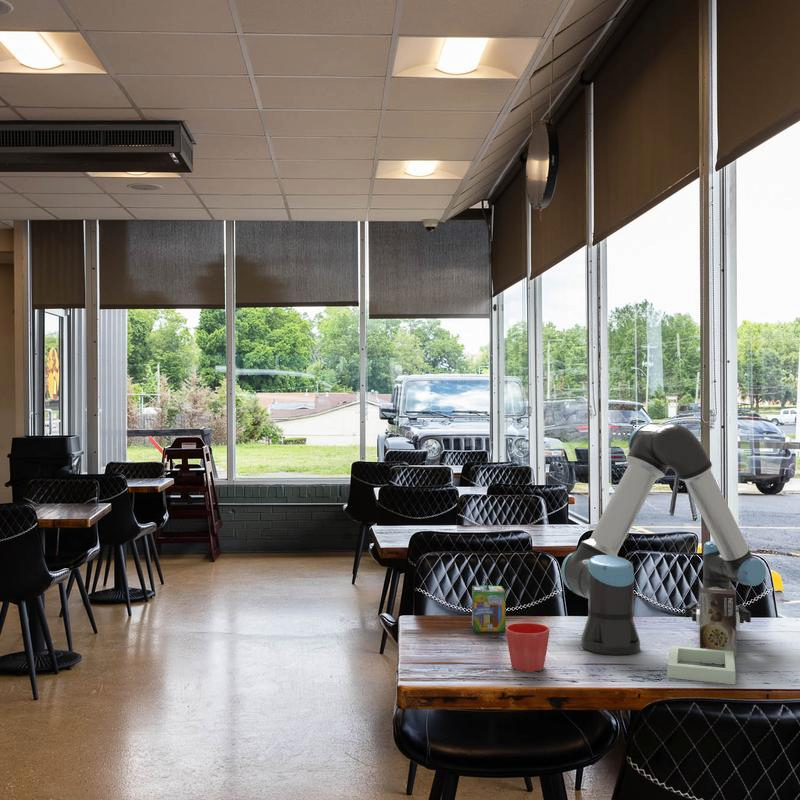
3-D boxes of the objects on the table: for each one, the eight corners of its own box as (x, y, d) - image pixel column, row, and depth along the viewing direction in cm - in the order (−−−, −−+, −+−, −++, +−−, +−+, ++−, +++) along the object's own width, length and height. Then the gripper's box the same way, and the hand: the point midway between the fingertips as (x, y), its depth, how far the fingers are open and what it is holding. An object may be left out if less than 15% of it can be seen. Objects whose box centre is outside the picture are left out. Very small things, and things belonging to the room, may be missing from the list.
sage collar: (667, 677, 211) (667, 664, 211) (670, 657, 228) (670, 645, 228) (735, 684, 207) (735, 671, 207) (733, 663, 224) (733, 651, 224)
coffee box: (735, 650, 235) (736, 589, 235) (736, 657, 229) (736, 593, 229) (699, 647, 238) (699, 586, 238) (698, 653, 232) (699, 591, 232)
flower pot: (496, 667, 218) (496, 627, 218) (522, 658, 226) (522, 620, 226) (532, 677, 211) (532, 635, 211) (558, 667, 219) (558, 627, 219)
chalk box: (505, 632, 252) (506, 580, 252) (473, 632, 252) (473, 579, 252) (502, 624, 261) (503, 573, 261) (471, 624, 261) (471, 573, 261)
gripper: (758, 619, 247) (763, 640, 226) (676, 613, 254) (673, 632, 233) (758, 592, 247) (763, 610, 226) (676, 586, 254) (673, 603, 233)
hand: (717, 621), depth 229 cm, fingers closed on coffee box, 9 cm apart
